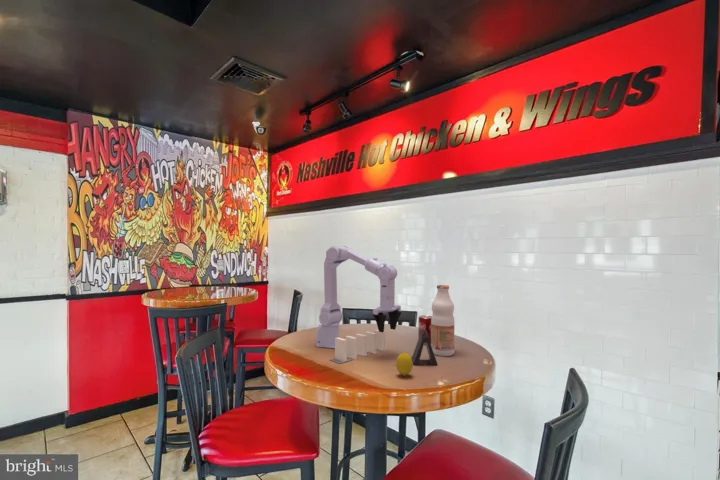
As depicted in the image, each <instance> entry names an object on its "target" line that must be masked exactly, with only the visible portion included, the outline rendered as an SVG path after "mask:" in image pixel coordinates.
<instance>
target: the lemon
mask: <svg viewBox="0 0 720 480" xmlns="http://www.w3.org/2000/svg"><path fill="white" fill-rule="evenodd" d="M411 356H412V355H411ZM411 356H410V354H409V353H407V352H405V351H404V352H403V351H402V353H400V354H398V356H397V358H396V361H395V362H396V365H395V366H396V370H397V371H398V372H399V374H401V375H402V376H403V377H405V376H407V375H409V374H410V373H411V372H412V370H413V366H414V365H413V363H412V357H411Z"/></svg>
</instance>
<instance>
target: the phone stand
mask: <svg viewBox="0 0 720 480" xmlns="http://www.w3.org/2000/svg"><path fill="white" fill-rule="evenodd" d="M424 331H425V332H426V335H425V337H424V336H423V335H424V334H425V333H424V332H423V330H422V329H421V330H420V331H419V339H417V342H416V345H415V347H414V351H413V353H412V355H411V356H412V357H411V358H412V363H413V366H420V367H421V366H425V367H426V366H427V367H428V366H431V367H434V366H435V367H436V366H438V365H439V364H438V362H437V359H436V356H435V354H434V353H433V350H432V347H431V344H430V340H429V339H430V335H429V334H428V333H427V331H426V330H425V329H424ZM424 343H426V345H424ZM424 346H426V349H427V350H426V351H427V353H428V358H429V359H421V355H422V352H423V348H424Z"/></svg>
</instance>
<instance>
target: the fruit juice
mask: <svg viewBox="0 0 720 480" xmlns="http://www.w3.org/2000/svg"><path fill="white" fill-rule="evenodd" d="M436 289H437V292H436V295H435V297H434V300H433V302H431V303H432V304H431V311H432V315H431V316H432V318H431V347H432V350H433V353H434V355H436V356H438V357H439V356H440V357H451V356H453V355H454V354H455V316H454V311H455V305H454V302H453V301H452V299H451V296H450V292H449V290H450V285H449V284H448V285H447V284H438V285H436Z"/></svg>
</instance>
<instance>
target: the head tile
mask: <svg viewBox="0 0 720 480" xmlns="http://www.w3.org/2000/svg"><path fill="white" fill-rule="evenodd" d="M373 333H376V334H377V340H376V351H381V352H385V351H386V331H385V330H384V332H379V330H378V329H374V332H373Z"/></svg>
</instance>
